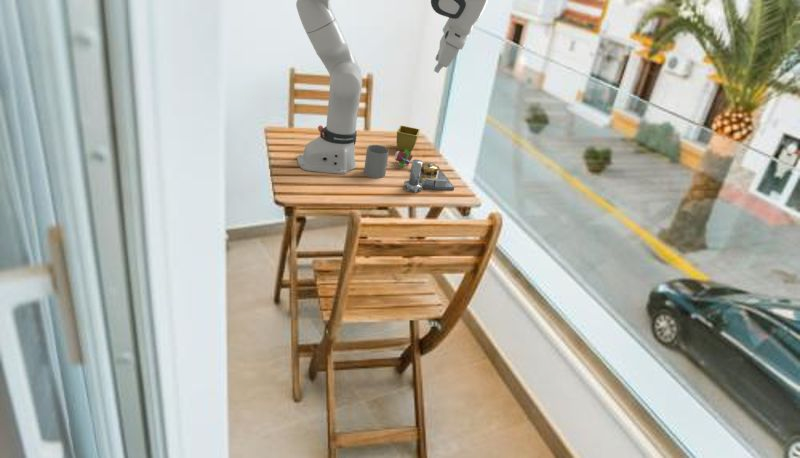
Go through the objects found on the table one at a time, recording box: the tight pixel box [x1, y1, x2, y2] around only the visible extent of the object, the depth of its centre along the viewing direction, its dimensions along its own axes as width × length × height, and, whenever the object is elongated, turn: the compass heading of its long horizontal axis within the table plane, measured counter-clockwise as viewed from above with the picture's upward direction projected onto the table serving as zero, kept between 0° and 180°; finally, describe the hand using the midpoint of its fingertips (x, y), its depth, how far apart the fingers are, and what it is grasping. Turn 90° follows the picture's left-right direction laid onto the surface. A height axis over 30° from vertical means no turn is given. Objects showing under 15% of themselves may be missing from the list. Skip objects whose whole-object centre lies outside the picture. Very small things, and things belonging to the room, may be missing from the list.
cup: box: [363, 144, 390, 179], centre depth 197 cm, size 8×8×10 cm
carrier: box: [419, 167, 455, 191], centre depth 202 cm, size 12×17×4 cm
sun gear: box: [421, 161, 440, 175], centre depth 206 cm, size 8×8×4 cm
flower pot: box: [396, 125, 421, 153], centre depth 223 cm, size 9×9×9 cm
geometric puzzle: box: [394, 149, 414, 168], centre depth 209 cm, size 7×7×8 cm
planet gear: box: [403, 159, 423, 194], centre depth 190 cm, size 7×7×11 cm
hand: (436, 65), depth 186 cm, fingers open, 8 cm apart
